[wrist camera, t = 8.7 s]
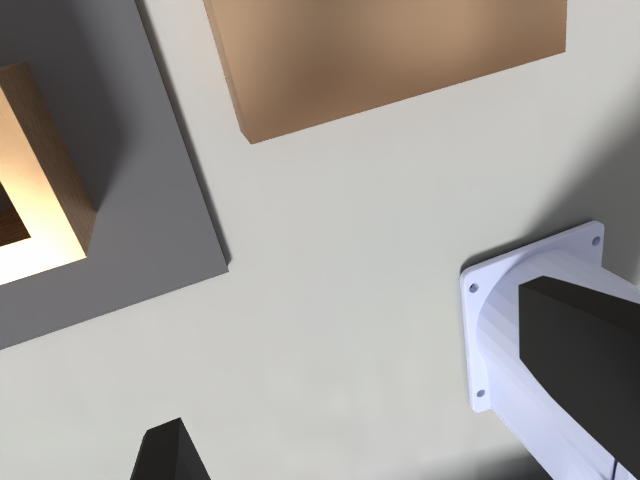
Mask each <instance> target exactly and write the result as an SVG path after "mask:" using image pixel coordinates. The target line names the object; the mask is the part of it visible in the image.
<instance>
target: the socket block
mask: <svg viewBox="0 0 640 480" xmlns="http://www.w3.org/2000/svg"><path fill="white" fill-rule="evenodd" d="M203 2H204V5H205V9H206V12H207V16H208V19H209V22H210V26H211V29H212V33H213V36H214V40H215V43H216V47H217V50H218V54H219V57H220V61H221V64H222V68H223V71H224V75H225V78H226V82H227V85H228V88H229V92H230V95H231V99H232V102H233V106H234V109H235V113H236V116H237V120H238V123H239V127H240V130H241V132H242V134H243V135H244V136H245V137H246V139H247V140H248V141H249V142H250V144H255V143H258V142H262V141H265V140H268V139H272V138H275V137H279V136H282V135H285V134H289V133H292V132H295V131H299V130H302V129H306V128H309V127H312V126H316V125H319V124H323V123H326V122H329V121H333V120H336V119H340V118H343V117H346V116H350V115H353V114H356V113H360V112H363V111H367V110H370V109H373V108H377V107H380V106H384V105H387V104H390V103H394V102H397V101H401V100H404V99H407V98H411V97H414V96H417V95H421V94H424V93H428V92H431V91H434V90H438V89H441V88H445V87H448V86H451V85H455V84H458V83H462V82H465V81H468V80H472V79H475V78H478V77H482V76H485V75H489V74H492V73H495V72H499V71H502V70H506V69H509V68H512V67H516V66H519V65H523V64H526V63H529V62H533V61H536V60H539V59H543V58H546V57H550V56H553V55H556V54H560V53H563V52H565V48H566V18H567V0H203Z"/></svg>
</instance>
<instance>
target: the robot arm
mask: <svg viewBox="0 0 640 480" xmlns="http://www.w3.org/2000/svg"><path fill="white" fill-rule="evenodd" d="M604 230H605V228H604V225H603V223H600V222H598V221H596V220H594V221H590V222H588V223H585V224H582V225H580V226H577V227H574V228H572V229H569V230H566V231H564V232H561V233H558V234H556V235H553V236H550V237H548V238H545V239H542V240H540V241H537V242H534V243H532V244H529V245H526V246H524V247H521V248H518V249H516V250H513V251H510V252H508V253H505V254H502V255H500V256H497V257H495V258H492V259H489V260H487V261H484V262H481V263H479V264H476V265H473V266H471V267H468V268H466V269H465V270H464V271H463V272H462V274H461V276H460V285H461V297H462V310H463V322H464V334H465V347H466V359H467V371H468V384H469V396H470V406H471V408H472V409H473V411H474V412H476V413H481V412H483V411H486V410H488V409H490V408H492V409H493V410H494V412H495V413H496V414H497V415H498V416H499V417H500V418H501V420H502V421H503V422H504V423H505V424H506V425H507V427H508V428H509V429H510V430H511V431H512V432H513V433H514V435H515V436H516V437H517V438H518V439H519V440H520V441H521V443H522V444H523V445H524V446H525V447H526V448H527V449H528V451H529V452H530V453H531V454H532V455H533V456H534V457H535V459H536V460H537V461H538V462H539V463H540V464H541V465H542V467H543V468H544V469H545V470H546V471H547V472H548V473H549V475H550V476H551V477H552V478H553V479H554V480H640V288H639V287H637V286H635V285H633V284H632V283H630V282H628V281H626V280H624V279H623V278H621V277H619V276H617V275H615V274H614V273H612V272H610V271H608V270H606V269H605V268H603V267H601V266H602V254H603V242H604ZM472 284H474V285H473V286H472V287H471V288H470V286H471V285H472ZM469 288H470V289H469ZM130 480H211V479H210V477H209V475H208V473H207V471H206V469H205V467H204V465H203V463H202V461H201V459H200V457H199V455H198V452H197V450H196V448H195V446H194V444H193V442H192V440H191V438H190V436H189V434H188V432H187V430H186V428H185V426H184V424H183V422H182V420H181V418H177V419H175V420H172V421H169V422H167V423H164V424H162V425H159V426H157V427H154V428H152V429H149V430H147V432H146V433H145V435H144V437H143V440H142V443H141V446H140V450H139V453H138V456H137V459H136V463H135V466H134V469H133V472H132V475H131V478H130Z"/></svg>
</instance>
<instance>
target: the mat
mask: <svg viewBox="0 0 640 480" xmlns="http://www.w3.org/2000/svg"><path fill="white" fill-rule="evenodd" d="M24 61H27V63H28V65H29V68H30V70H31V72H32V74H33V76H34V78H35V80H36V83H37V85H38V87H39V89H40V91H41V93H42V95H43V98H44V100H45V102H46V104H47V106H48V108H49V110H50V112H51V115H52V117H53V119H54V121H55V123H56V125H57V127H58V130H59V132H60V134H61V136H62V138H63V140H64V142H65V145H66V147H67V149H68V151H69V153H70V155H71V157H72V160H73V162H74V164H75V166H76V168H77V170H78V172H79V175H80V177H81V179H82V181H83V183H84V185H85V187H86V190H87V192H88V194H89V196H90V198H91V200H92V202H93V205H94V207H95V209H96V211H97V217H96V221H95V225H94V229H93V233H92V237H91V241H90V245H89V249H88V253H87V257H86V258H83V259H80V260H76V261H73V262H70V263H67V264H64V265H61V266H57V267H54V268H51V269H48V270H45V271H42V272H39V273H35V274H32V275H29V276H26V277H23V278H20V279H16V280H13V281H10V282H7V283H4V284H1V285H0V350H2V349H5V348H8V347H11V346H13V345H16V344H19V343H22V342H25V341H28V340H31V339H34V338H37V337H40V336H43V335H46V334H49V333H51V332H54V331H57V330H60V329H63V328H66V327H69V326H72V325H75V324H78V323H81V322H84V321H87V320H89V319H92V318H95V317H98V316H101V315H104V314H107V313H110V312H113V311H116V310H119V309H122V308H125V307H127V306H130V305H133V304H136V303H139V302H142V301H145V300H148V299H151V298H154V297H157V296H160V295H163V294H165V293H168V292H171V291H174V290H177V289H180V288H183V287H186V286H189V285H192V284H195V283H198V282H201V281H203V280H206V279H209V278H212V277H215V276H218V275H221V274H224V273H227V272H229V270H228V267H227V264H226V261H225V259H224V256H223V253H222V250H221V247H220V244H219V241H218V239H217V236H216V233H215V230H214V227H213V224H212V221H211V218H210V216H209V213H208V210H207V207H206V204H205V201H204V198H203V195H202V193H201V190H200V187H199V184H198V181H197V178H196V175H195V173H194V170H193V167H192V164H191V161H190V158H189V155H188V152H187V150H186V147H185V144H184V141H183V138H182V135H181V132H180V129H179V127H178V124H177V121H176V118H175V115H174V112H173V109H172V107H171V104H170V101H169V98H168V95H167V92H166V89H165V86H164V84H163V81H162V78H161V75H160V72H159V69H158V66H157V63H156V61H155V58H154V55H153V52H152V49H151V46H150V43H149V41H148V38H147V35H146V32H145V29H144V26H143V23H142V20H141V18H140V15H139V12H138V9H137V6H136V3H135V0H0V67H3V66H7V65H12V64H16V63H20V62H24ZM11 207H15V206H14V205H13V203H12V201H11V199H10V197H9V196H8V194H7V192H6V190H5V188H4V187H3V185H2V183H1V181H0V211H1V210H4V209H8V208H11Z"/></svg>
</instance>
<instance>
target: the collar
mask: <svg viewBox="0 0 640 480" xmlns="http://www.w3.org/2000/svg"><path fill="white" fill-rule="evenodd" d="M0 181H1V183H2V185H3V187H4V188H5V190H6V192H7V194H8V196H9V197H10V199H11V201H12V203H13V205H14V206H15V207H11V208H8V209H4V210H1V211H0V285H1V284H4V283H7V282H10V281H13V280H16V279H20V278H23V277H26V276H29V275H32V274H35V273H39V272H42V271H45V270H48V269H51V268H54V267H57V266H61V265H64V264H67V263H70V262H73V261H76V260H80V259H83V258H86V257H87V253H88V249H89V245H90V241H91V237H92V233H93V229H94V225H95V221H96V217H97V211H96V209H95V207H94V205H93V202H92V200H91V198H90V196H89V194H88V192H87V190H86V187H85V185H84V183H83V181H82V179H81V177H80V175H79V172H78V170H77V168H76V166H75V164H74V162H73V160H72V157H71V155H70V153H69V151H68V149H67V147H66V145H65V142H64V140H63V138H62V136H61V134H60V132H59V130H58V127H57V125H56V123H55V121H54V119H53V117H52V115H51V112H50V110H49V108H48V106H47V104H46V102H45V100H44V98H43V95H42V93H41V91H40V89H39V87H38V85H37V83H36V80H35V78H34V76H33V74H32V72H31V70H30V68H29V65H28V63H27V61H24V62H20V63H16V64H12V65H7V66H3V67H0Z"/></svg>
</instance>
